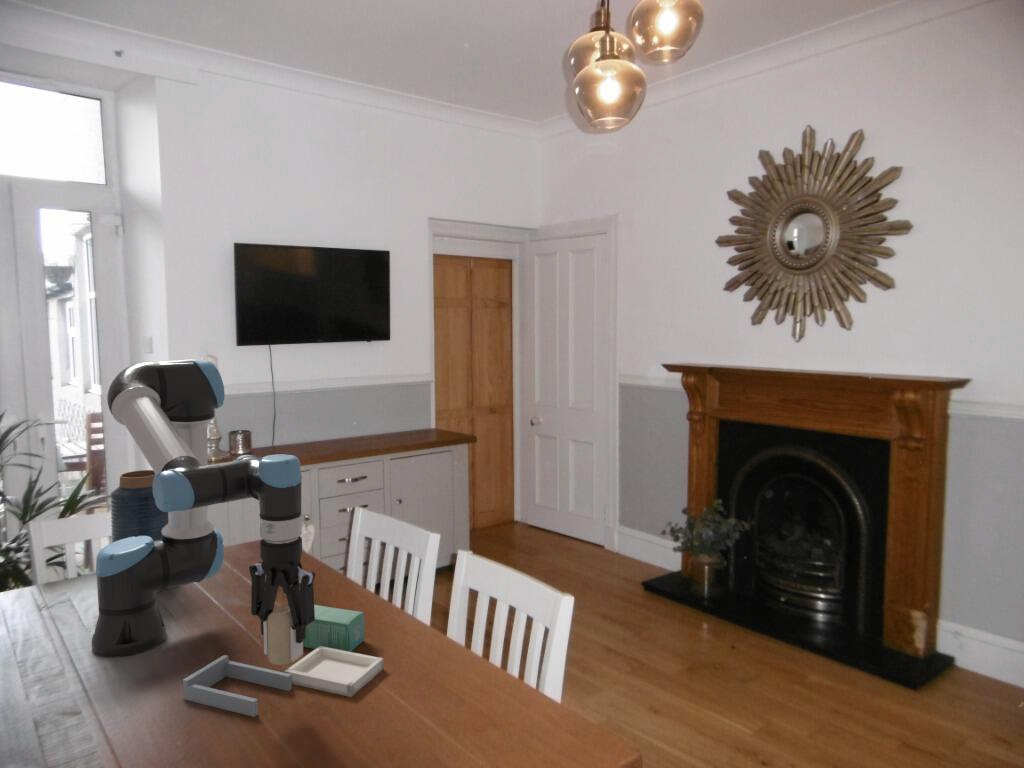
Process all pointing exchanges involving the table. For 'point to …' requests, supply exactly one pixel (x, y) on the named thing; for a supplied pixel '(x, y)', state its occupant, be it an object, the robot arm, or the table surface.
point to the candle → (279, 636)
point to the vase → (136, 508)
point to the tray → (335, 670)
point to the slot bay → (217, 670)
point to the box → (335, 629)
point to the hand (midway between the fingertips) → (283, 654)
